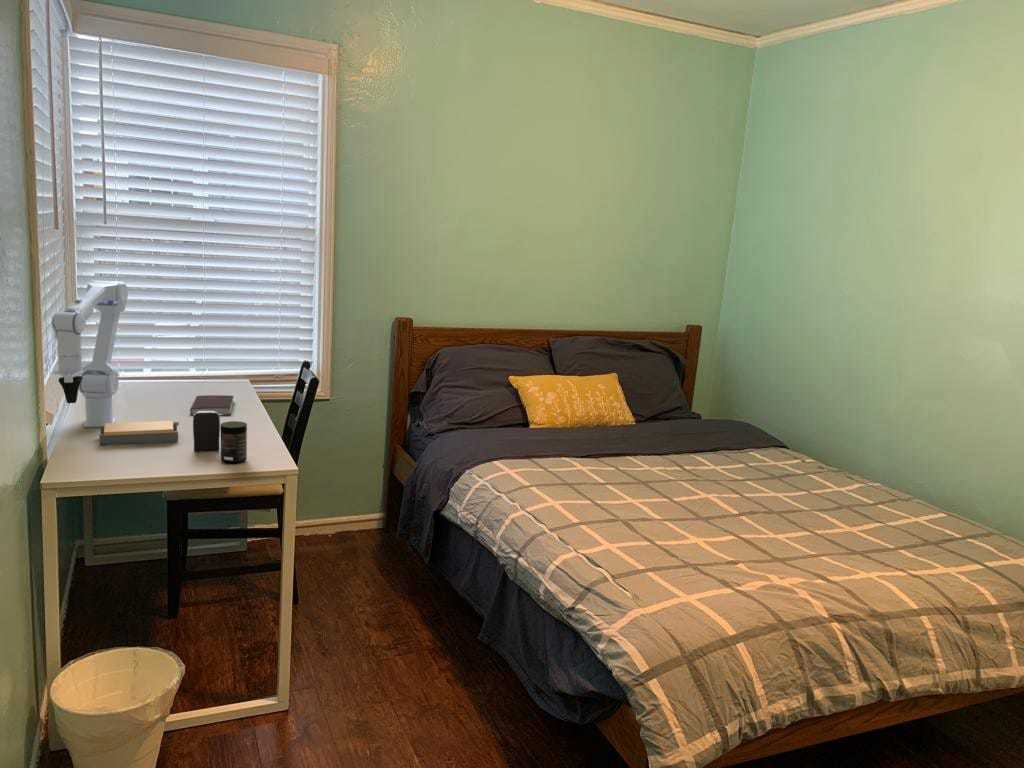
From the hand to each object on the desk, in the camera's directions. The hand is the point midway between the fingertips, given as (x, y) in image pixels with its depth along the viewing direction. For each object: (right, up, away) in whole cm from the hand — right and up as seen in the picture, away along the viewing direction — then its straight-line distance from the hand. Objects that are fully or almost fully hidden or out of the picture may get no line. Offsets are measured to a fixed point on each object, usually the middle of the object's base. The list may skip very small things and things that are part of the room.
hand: (71, 402), depth 216 cm
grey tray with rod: (+17, -11, +5) cm, 21 cm away
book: (+22, -4, +46) cm, 51 cm away
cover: (+17, -8, +4) cm, 19 cm away
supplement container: (+49, -16, -8) cm, 52 cm away
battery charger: (+38, -14, 0) cm, 40 cm away
